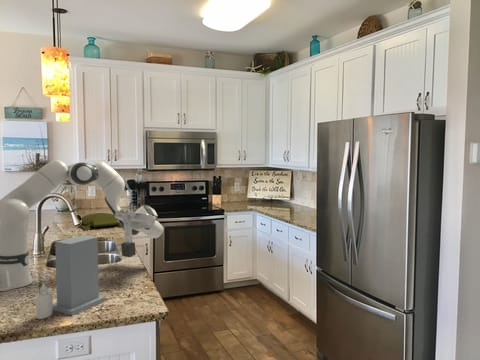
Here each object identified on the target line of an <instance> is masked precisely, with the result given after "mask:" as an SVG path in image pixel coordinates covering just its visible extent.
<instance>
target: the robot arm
mask: <svg viewBox="0 0 480 360" xmlns="http://www.w3.org/2000/svg"><path fill="white" fill-rule="evenodd" d="M63 182H66V183H68V184H70V185H73V186H78V187H79V186H85V185H89V184H91V183H92V182H93V183H94V184H96V185H98V187H100V189H101V190H102V191H103V192H104V194H105V197H104V201H105V204H106V205H107V207H108V208H109V210H110V211H111V213H112V214H114V215H115V218H117V219H118V220H117V221H118V222H120V224H121V225H122V227H121V228H122V229H123V230H124V222H123V211H125V210H126V214H127V215H130V216H131V226H132V236H137V235H138V234H139V233H142V234H144V235H145V236H147V237H149V238H152V239H158V238H159V237H160V236H161V235H162V234H163V232H164V227H163V225H162V224H161V223H160V222H159V221H158V214H157V212H156V210H155V209H154V208H153V207H151V206H150V205H147V204H143V205H141V206H140V207H139V208H138V209H136V210H135V211H131V210H130V209H125V210H124V209H122V208H121V206H120V205H119V201H120V199H121V197H122V195H123V193H124V191H125V188H126V182H125V179H124V178H123V177H122V176H121V175H120V174H119V173H118V172H117V171H116V170H115V169H114V168H112V167H111V166H110V165H109V164H107V163H106V162H105V161H98V162H94V164H90V163H88V162H75V163H72V164H70V165H68V164H66V162H64V161H62V160H60V159H53V160H51V161H50V162H47V163H46V164H45V165H43V166H42V167H40V168H39V169H38V170H37V171H36V172H35V173H33V174H32V175H31V176H30V177H28V179H26V180H25V181H23V183H22V184H20V185H18V186H17V187H16V188H14V189H13V190H11V191H10V192H8V193H7V194H6V195H4V197H2V198H0V292H6V291H11V290H14V289H19V288H23V287H25V286H29V285H30V284H32V283H33V278H32V276H31V272H30V268H29V267H30V265H29V264H30V253H29V251H28V229H29V222H30V221H29V219H30V209H31V208H32V207H34V206H35V205H37V204H38V203H40V202H41V201H43V200H44V199H46V198H47V197H48V196H49V195H50V194H51V193H52V192H53V191H55V189H56V188H57V187H59V186H60V185H61V184H63Z"/></svg>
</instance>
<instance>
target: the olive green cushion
mask: <svg viewBox="0 0 480 360" xmlns="http://www.w3.org/2000/svg"><path fill="white" fill-rule="evenodd" d="M80 218H81V219H82V222H81V223H82V224H81V225H80V226H79V227H80V228H81V227H82V228H83V229H84V230H83V229H82V228H81V229H82V230H83V231H85V230H90V229H91V230H92V228H91V227H93V228H99V227H108V226H109V227H111V226H116V225H117V226H116V227H118V228H123V227H122V225H121V224H120V222H119V221H118V219H117V218H115V215H114V214H113V213H109V212H108V213H107V212H95V213H89V214H86V215H83V216H81V217H80ZM91 230H90V231H91Z"/></svg>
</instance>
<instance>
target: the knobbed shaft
mask: <svg viewBox="0 0 480 360" xmlns="http://www.w3.org/2000/svg"><path fill="white" fill-rule="evenodd" d="M126 210H127V209H125V210H124V211H123V222H124V229H123V231H124V232H123V233H124V242H123V243H121V245H120V246H121V256H122V257H125V258H132V257H134V256H135V255H137V254H136V252H137V251H136V243H135V242H134V240H133V235H132V226H131V216H130V215H127V214H126Z"/></svg>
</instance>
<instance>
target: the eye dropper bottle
mask: <svg viewBox="0 0 480 360" xmlns="http://www.w3.org/2000/svg"><path fill="white" fill-rule="evenodd" d="M48 291H49V290H48V286H46V284H45V283H42V286H40V287H39V294H38V295H37V296H36V297H35V318H36V319H37V320H43V319H46V318H49V317H51V316H52V315H53V313H54V310H53V305H52V304H53V294H52V293H50V292H48Z"/></svg>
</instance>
